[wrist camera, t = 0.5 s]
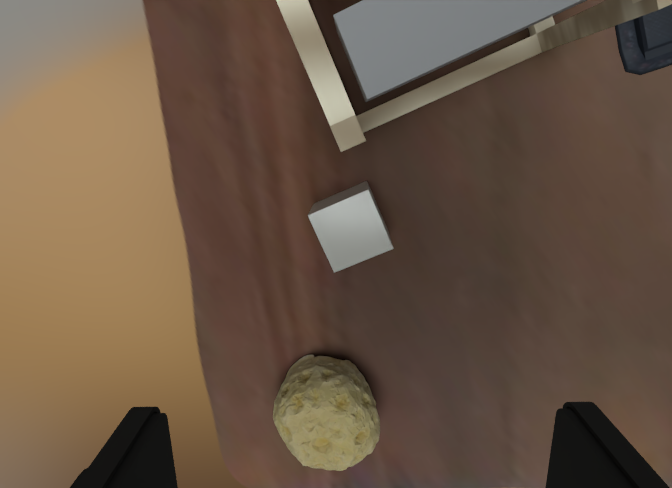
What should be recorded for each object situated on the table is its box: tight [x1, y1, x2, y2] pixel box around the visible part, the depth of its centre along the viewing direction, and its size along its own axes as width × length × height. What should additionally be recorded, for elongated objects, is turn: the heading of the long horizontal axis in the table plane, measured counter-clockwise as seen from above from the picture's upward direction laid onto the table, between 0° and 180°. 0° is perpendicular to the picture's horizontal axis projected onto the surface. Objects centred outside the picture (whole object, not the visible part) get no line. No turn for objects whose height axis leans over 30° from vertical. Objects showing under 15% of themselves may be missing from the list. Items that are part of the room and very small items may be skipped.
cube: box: [308, 181, 393, 273], centre depth 36 cm, size 5×5×5 cm
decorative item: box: [273, 355, 380, 471], centre depth 40 cm, size 10×10×10 cm
